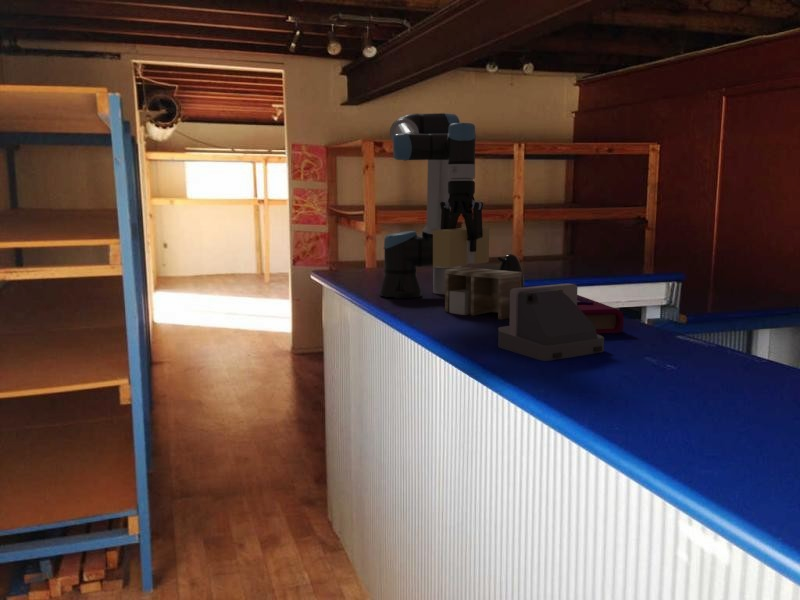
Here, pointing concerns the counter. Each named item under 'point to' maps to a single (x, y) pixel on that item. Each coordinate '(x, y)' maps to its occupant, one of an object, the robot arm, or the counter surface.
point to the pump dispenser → (511, 265)
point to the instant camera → (548, 324)
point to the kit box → (457, 248)
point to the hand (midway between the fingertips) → (460, 262)
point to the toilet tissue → (440, 279)
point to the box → (460, 301)
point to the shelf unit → (484, 288)
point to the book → (601, 315)
